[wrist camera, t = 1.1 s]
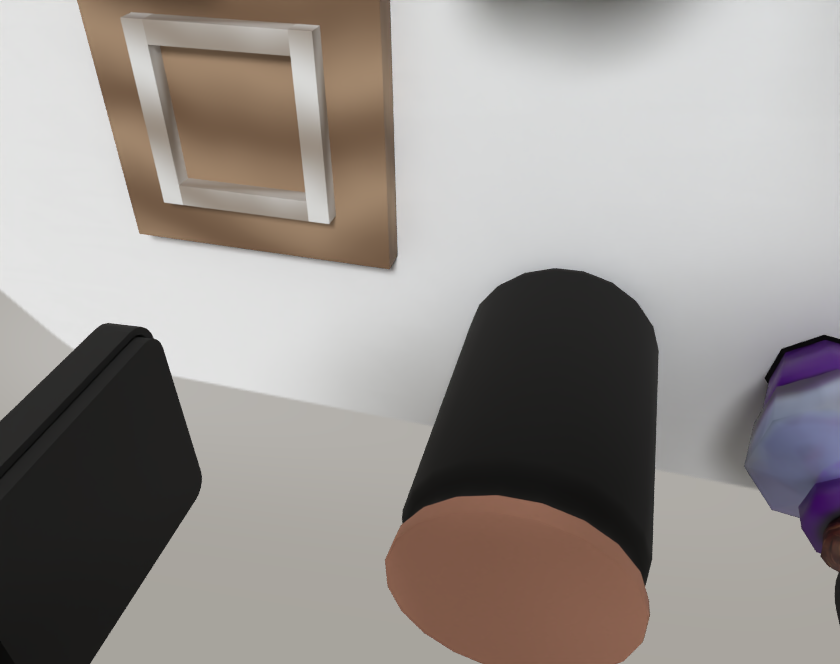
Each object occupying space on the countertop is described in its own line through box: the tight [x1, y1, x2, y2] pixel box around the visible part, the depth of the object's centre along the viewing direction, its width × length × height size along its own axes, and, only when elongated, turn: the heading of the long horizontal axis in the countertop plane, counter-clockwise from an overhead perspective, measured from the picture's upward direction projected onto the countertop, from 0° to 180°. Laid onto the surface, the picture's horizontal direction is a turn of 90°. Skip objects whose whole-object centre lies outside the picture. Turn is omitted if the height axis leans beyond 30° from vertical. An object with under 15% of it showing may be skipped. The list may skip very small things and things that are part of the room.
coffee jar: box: [385, 268, 659, 664], centre depth 37 cm, size 11×11×18 cm
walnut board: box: [77, 0, 397, 269], centre depth 39 cm, size 16×16×2 cm
